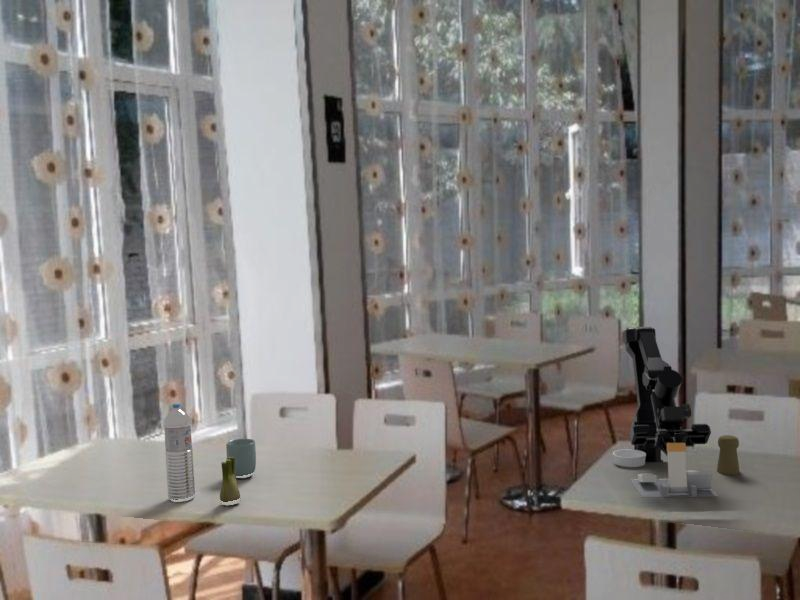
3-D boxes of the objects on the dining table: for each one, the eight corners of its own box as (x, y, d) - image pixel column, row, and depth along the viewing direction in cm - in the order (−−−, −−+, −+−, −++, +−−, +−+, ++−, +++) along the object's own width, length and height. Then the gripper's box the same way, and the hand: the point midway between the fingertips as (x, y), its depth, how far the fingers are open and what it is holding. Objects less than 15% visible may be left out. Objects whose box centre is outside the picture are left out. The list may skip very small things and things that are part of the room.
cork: (742, 480, 228) (742, 439, 227) (717, 480, 229) (717, 438, 228) (738, 474, 234) (738, 433, 233) (714, 473, 235) (714, 432, 234)
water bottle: (181, 504, 223) (175, 407, 221) (162, 501, 227) (156, 405, 225) (200, 497, 229) (195, 402, 227) (182, 493, 233) (176, 400, 230)
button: (682, 479, 224) (682, 470, 223) (697, 479, 223) (697, 470, 223) (686, 484, 220) (686, 474, 220) (701, 484, 220) (701, 474, 219)
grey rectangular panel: (684, 487, 218) (685, 471, 216) (709, 486, 217) (710, 471, 215) (685, 490, 216) (687, 475, 214) (710, 490, 216) (712, 474, 214)
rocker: (638, 480, 225) (637, 473, 225) (652, 480, 225) (652, 473, 225) (642, 482, 220) (641, 475, 220) (656, 481, 220) (656, 474, 220)
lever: (668, 492, 214) (665, 442, 215) (686, 492, 214) (684, 442, 215) (669, 494, 213) (667, 443, 213) (688, 493, 212) (686, 443, 213)
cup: (222, 480, 244) (220, 444, 243) (238, 472, 251) (236, 437, 250) (247, 482, 241) (245, 446, 240) (261, 474, 248) (260, 439, 247)
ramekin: (610, 471, 240) (610, 456, 239) (615, 463, 248) (615, 447, 247) (644, 474, 236) (644, 458, 236) (647, 465, 245) (647, 450, 244)
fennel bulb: (226, 509, 219) (224, 462, 217) (214, 505, 222) (212, 459, 221) (245, 503, 223) (243, 457, 222) (233, 499, 226) (231, 454, 225)
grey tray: (629, 484, 228) (629, 469, 227) (700, 483, 227) (700, 468, 226) (641, 503, 213) (641, 487, 212) (717, 502, 212) (718, 486, 211)
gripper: (632, 393, 219) (641, 448, 209) (708, 391, 218) (722, 447, 208) (626, 417, 228) (635, 471, 218) (700, 415, 226) (712, 470, 216)
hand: (676, 464), depth 215 cm, fingers closed, pressing on lever
